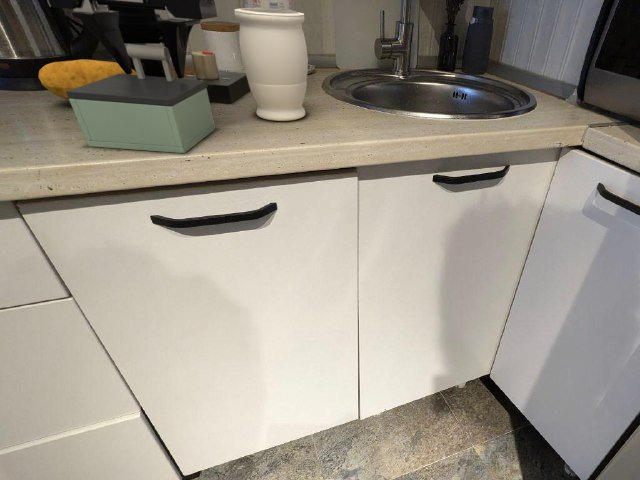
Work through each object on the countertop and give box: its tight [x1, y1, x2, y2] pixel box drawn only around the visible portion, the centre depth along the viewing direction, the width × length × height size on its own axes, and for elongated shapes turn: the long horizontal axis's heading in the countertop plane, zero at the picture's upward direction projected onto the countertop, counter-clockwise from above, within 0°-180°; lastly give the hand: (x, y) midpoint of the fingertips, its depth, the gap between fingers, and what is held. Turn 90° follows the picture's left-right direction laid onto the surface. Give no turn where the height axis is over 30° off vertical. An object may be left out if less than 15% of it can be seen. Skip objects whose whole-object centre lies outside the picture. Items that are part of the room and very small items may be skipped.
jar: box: [234, 7, 309, 122], centre depth 65 cm, size 11×10×15 cm
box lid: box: [66, 44, 208, 106], centre depth 52 cm, size 12×13×5 cm
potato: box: [38, 58, 137, 101], centre depth 65 cm, size 8×14×7 cm, turn 108°
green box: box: [68, 88, 216, 154], centre depth 55 cm, size 11×13×6 cm
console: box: [184, 70, 251, 104], centre depth 77 cm, size 12×10×3 cm
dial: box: [190, 50, 219, 80], centre depth 74 cm, size 4×4×4 cm
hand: (155, 75), depth 56 cm, fingers open, 7 cm apart
